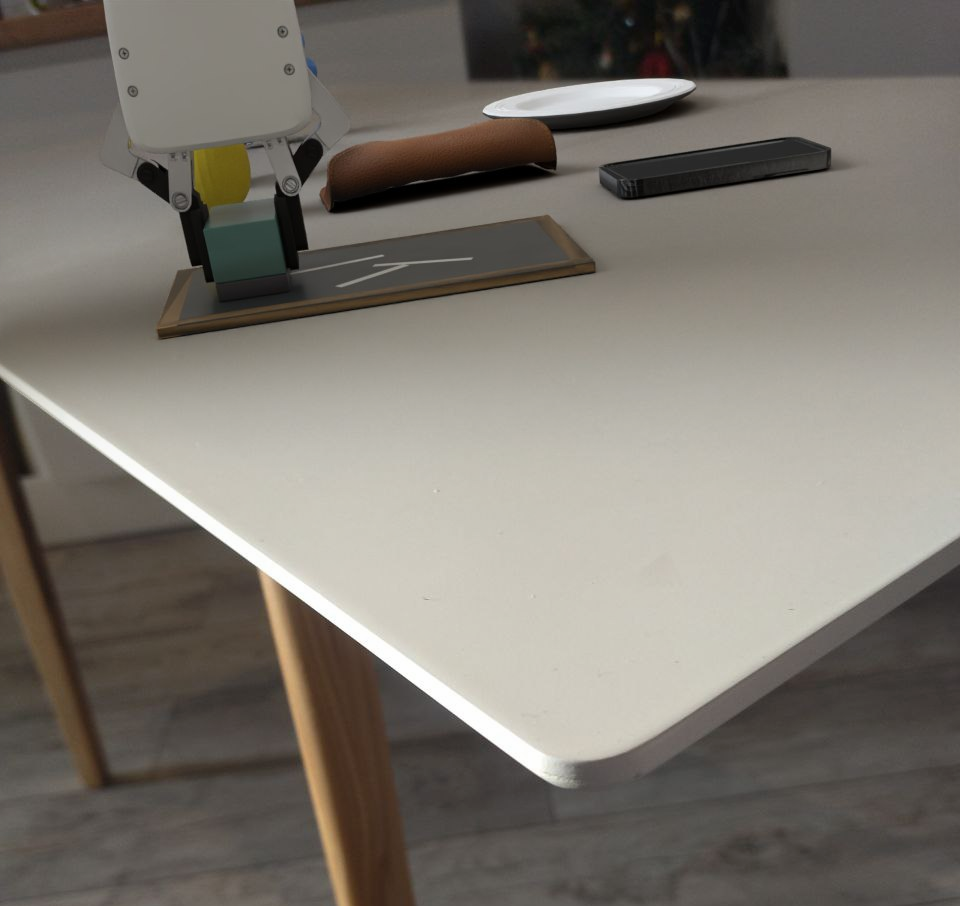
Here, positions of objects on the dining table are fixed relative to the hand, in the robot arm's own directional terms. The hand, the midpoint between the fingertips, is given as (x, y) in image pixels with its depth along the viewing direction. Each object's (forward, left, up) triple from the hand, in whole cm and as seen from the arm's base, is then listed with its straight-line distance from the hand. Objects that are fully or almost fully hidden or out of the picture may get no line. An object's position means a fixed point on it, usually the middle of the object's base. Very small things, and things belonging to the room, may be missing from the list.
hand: (252, 267), depth 71 cm
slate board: (+6, -3, -1) cm, 7 cm away
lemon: (+10, +24, -2) cm, 26 cm away
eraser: (0, 0, -1) cm, 1 cm away
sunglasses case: (+25, +16, -2) cm, 30 cm away
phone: (+35, -3, -1) cm, 35 cm away
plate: (+54, +31, -2) cm, 62 cm away
